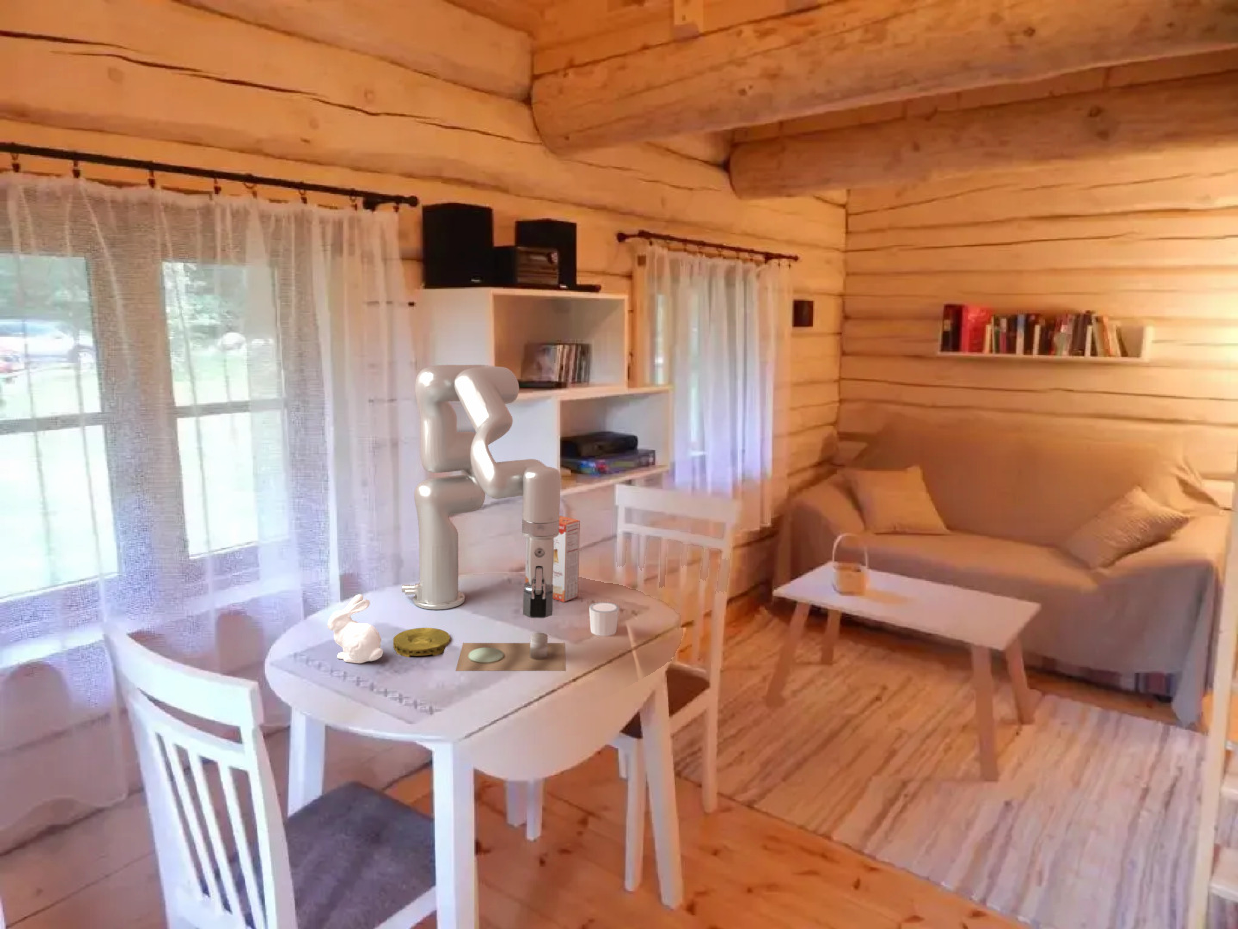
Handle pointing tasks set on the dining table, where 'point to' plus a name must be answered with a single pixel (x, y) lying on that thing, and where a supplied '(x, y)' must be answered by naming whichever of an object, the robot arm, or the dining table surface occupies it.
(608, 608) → the white cup
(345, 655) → the rabbit
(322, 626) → the dining table surface
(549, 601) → the grey faceted cylinder
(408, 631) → the brake disc
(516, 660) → the board
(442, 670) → the dining table surface
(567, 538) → the cracker box
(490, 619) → the dining table surface
